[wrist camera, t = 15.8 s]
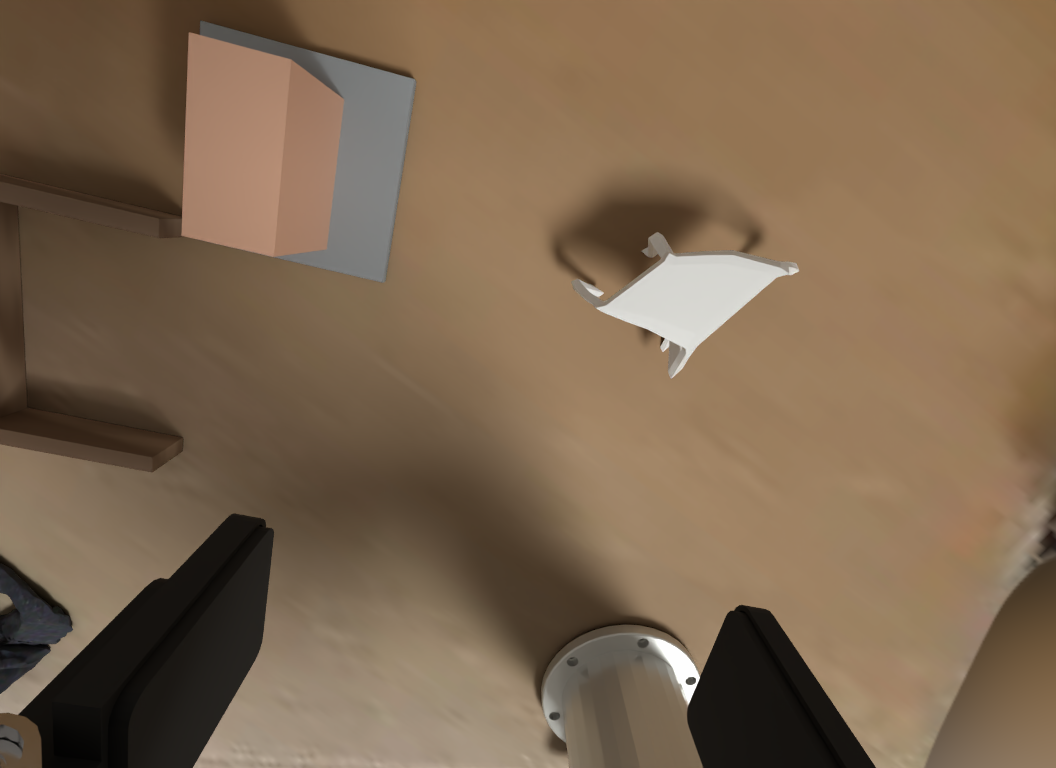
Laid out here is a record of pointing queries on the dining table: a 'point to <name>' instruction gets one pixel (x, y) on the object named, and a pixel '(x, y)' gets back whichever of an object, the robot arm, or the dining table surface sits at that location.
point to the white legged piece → (687, 294)
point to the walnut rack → (3, 350)
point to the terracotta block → (257, 150)
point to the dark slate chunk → (26, 628)
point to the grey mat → (353, 154)
